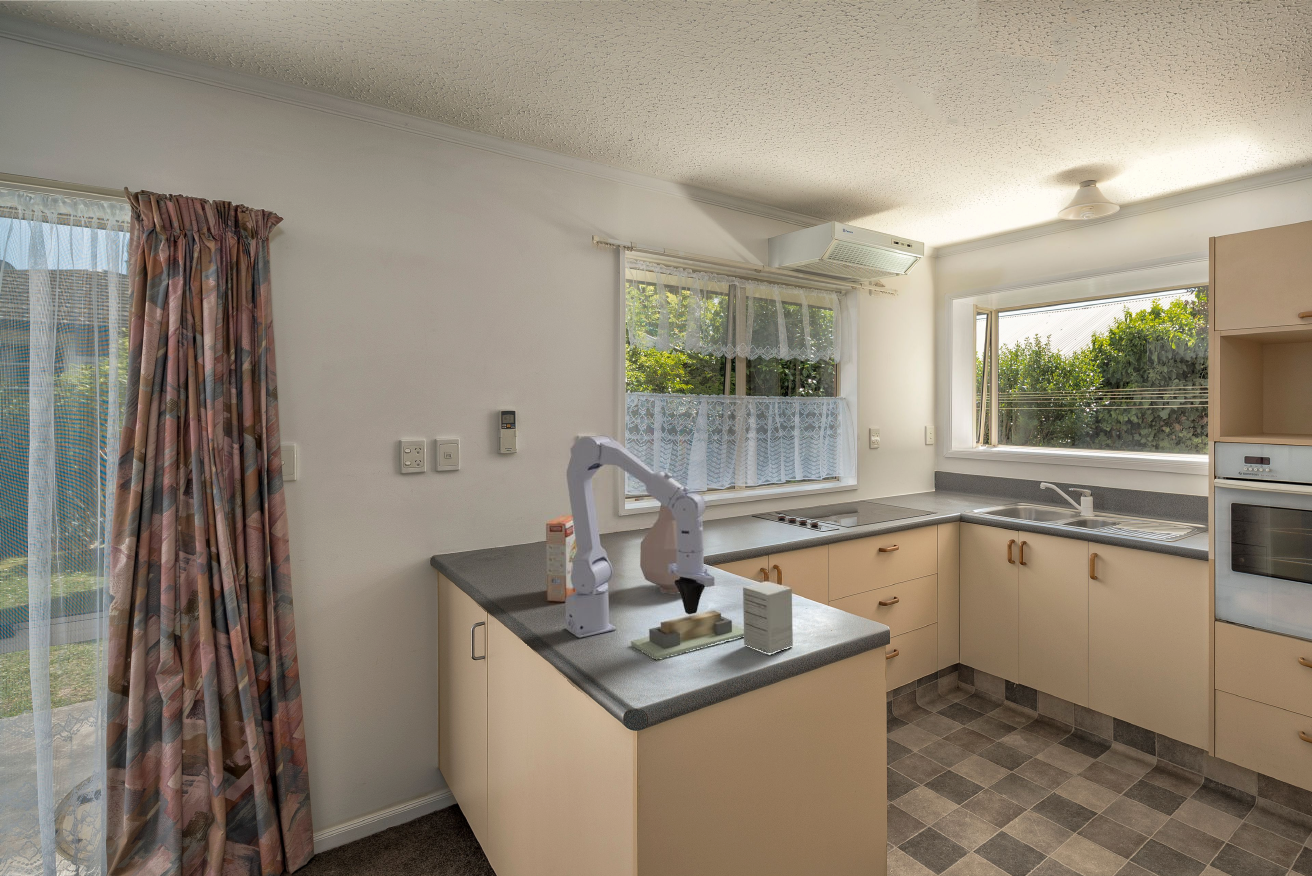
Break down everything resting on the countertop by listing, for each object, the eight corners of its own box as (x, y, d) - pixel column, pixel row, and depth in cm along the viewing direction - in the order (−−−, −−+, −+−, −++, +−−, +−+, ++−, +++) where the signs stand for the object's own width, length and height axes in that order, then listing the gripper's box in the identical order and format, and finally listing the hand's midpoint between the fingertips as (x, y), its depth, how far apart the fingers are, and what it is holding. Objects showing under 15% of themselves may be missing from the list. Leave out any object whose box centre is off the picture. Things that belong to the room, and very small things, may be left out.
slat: (667, 644, 131) (667, 625, 131) (661, 641, 133) (660, 622, 133) (721, 631, 138) (721, 613, 138) (714, 628, 140) (714, 610, 140)
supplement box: (767, 638, 136) (766, 580, 136) (793, 648, 131) (793, 587, 130) (742, 646, 132) (741, 586, 132) (768, 656, 126) (768, 594, 126)
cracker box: (568, 602, 165) (566, 523, 164) (546, 602, 166) (544, 522, 165) (584, 588, 179) (582, 514, 178) (564, 587, 180) (562, 514, 179)
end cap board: (656, 660, 125) (655, 643, 125) (631, 645, 134) (630, 629, 134) (749, 636, 138) (749, 620, 138) (721, 623, 146) (721, 608, 146)
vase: (649, 602, 164) (647, 487, 163) (633, 584, 181) (631, 480, 180) (713, 595, 169) (711, 483, 168) (691, 579, 186) (690, 477, 185)
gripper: (725, 553, 131) (726, 618, 131) (686, 541, 143) (687, 601, 144) (698, 557, 127) (699, 624, 128) (659, 545, 140) (660, 606, 140)
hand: (691, 612), depth 135 cm, fingers closed
